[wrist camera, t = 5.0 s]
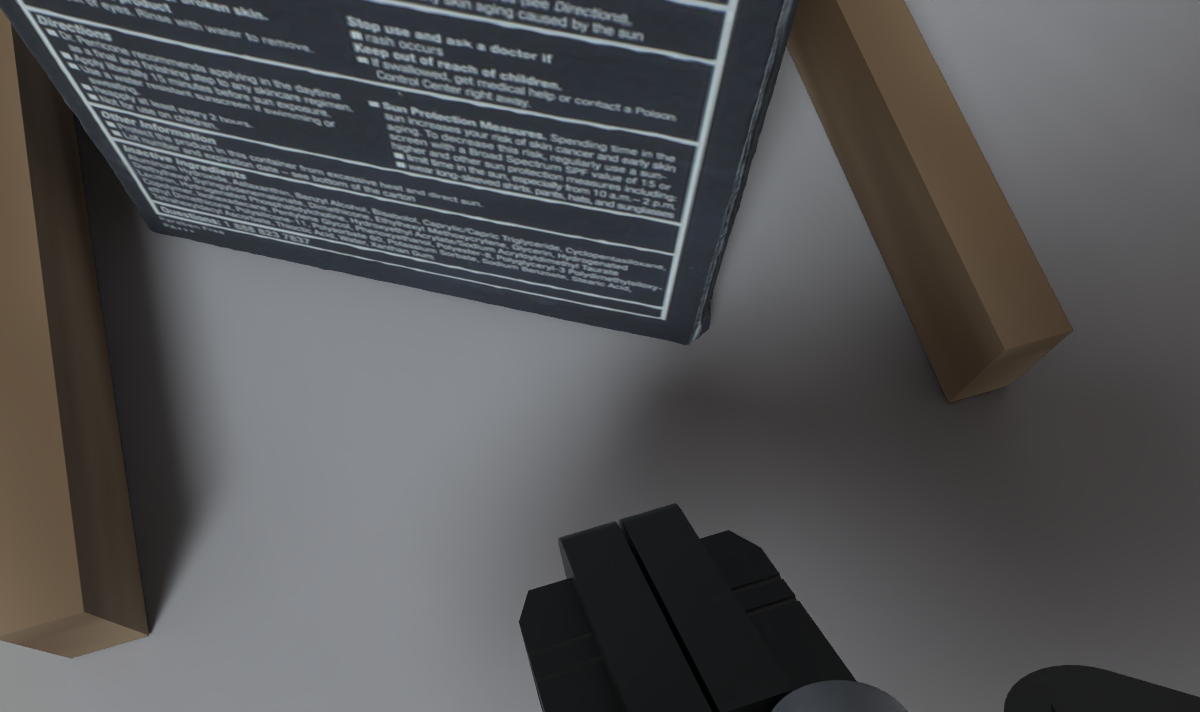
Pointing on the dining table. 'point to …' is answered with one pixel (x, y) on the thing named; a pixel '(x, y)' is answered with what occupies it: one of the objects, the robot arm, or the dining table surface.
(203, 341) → the dining table surface
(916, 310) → the walnut tunnel
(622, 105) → the small box
